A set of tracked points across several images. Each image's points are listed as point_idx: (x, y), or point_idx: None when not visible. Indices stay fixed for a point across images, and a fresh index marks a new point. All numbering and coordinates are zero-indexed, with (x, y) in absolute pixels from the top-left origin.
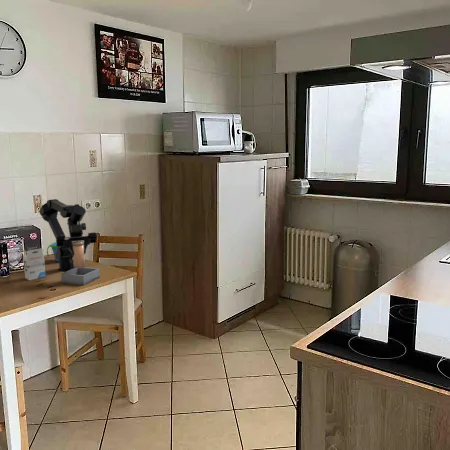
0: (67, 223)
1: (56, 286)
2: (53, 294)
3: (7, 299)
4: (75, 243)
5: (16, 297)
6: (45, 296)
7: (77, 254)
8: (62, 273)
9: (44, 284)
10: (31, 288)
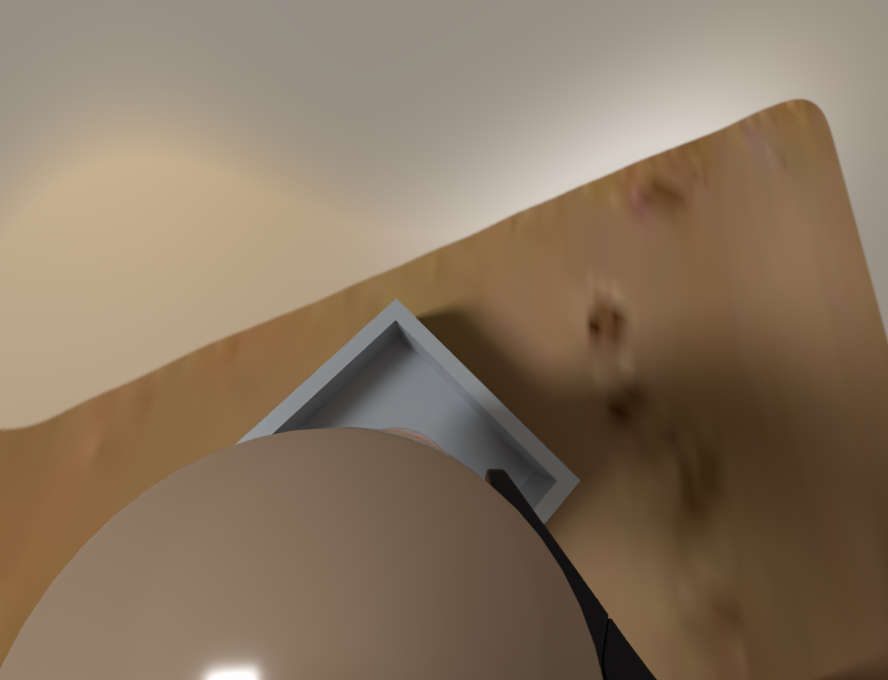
0: None
1: (586, 391)
2: (604, 227)
3: (852, 264)
4: (470, 505)
5: (810, 276)
6: (648, 213)
7: (418, 437)
8: (567, 482)
9: (671, 489)
10: (751, 427)
